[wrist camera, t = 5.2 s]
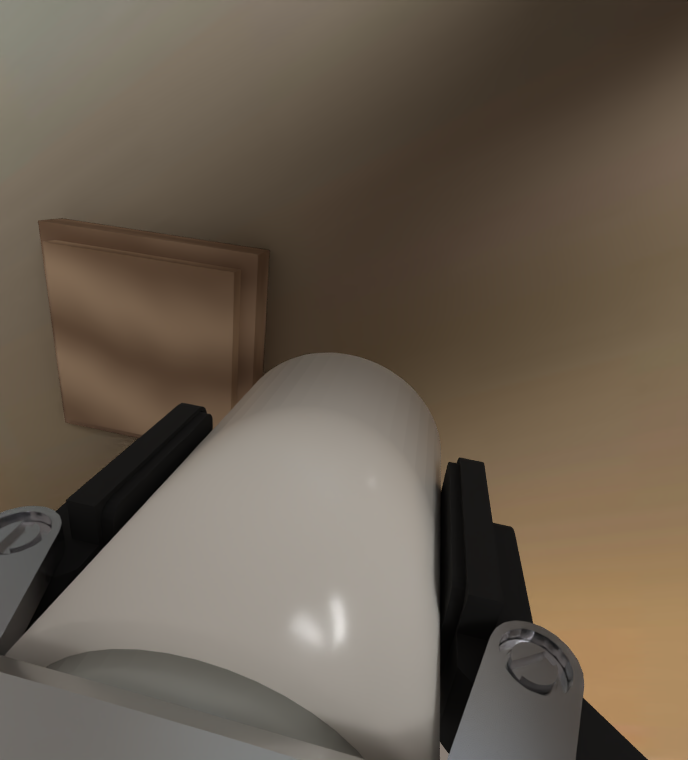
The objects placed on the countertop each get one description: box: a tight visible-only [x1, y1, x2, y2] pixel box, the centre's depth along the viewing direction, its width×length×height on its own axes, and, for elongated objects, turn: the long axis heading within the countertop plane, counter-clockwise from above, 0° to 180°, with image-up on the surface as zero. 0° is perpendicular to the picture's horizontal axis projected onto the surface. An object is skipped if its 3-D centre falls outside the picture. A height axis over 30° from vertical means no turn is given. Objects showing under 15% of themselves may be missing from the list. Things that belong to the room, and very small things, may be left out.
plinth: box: [38, 218, 270, 438], centre depth 31 cm, size 14×14×3 cm
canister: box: [5, 353, 441, 760], centre depth 9 cm, size 6×6×9 cm
